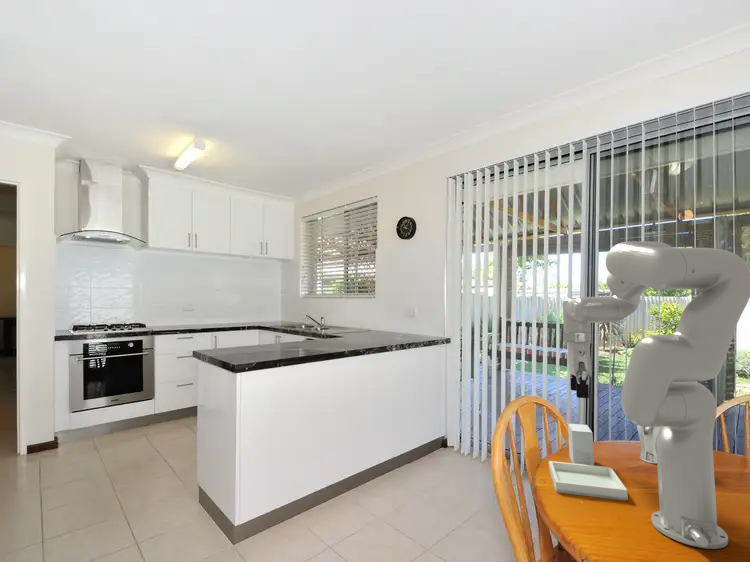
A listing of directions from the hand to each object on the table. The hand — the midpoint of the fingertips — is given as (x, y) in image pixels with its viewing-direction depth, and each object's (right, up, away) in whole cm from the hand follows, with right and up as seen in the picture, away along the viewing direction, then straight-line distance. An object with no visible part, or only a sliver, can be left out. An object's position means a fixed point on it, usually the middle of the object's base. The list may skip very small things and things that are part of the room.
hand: (579, 394), depth 119 cm
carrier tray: (-6, -20, -15) cm, 26 cm away
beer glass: (+22, -21, 0) cm, 30 cm away
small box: (0, -21, -1) cm, 21 cm away
